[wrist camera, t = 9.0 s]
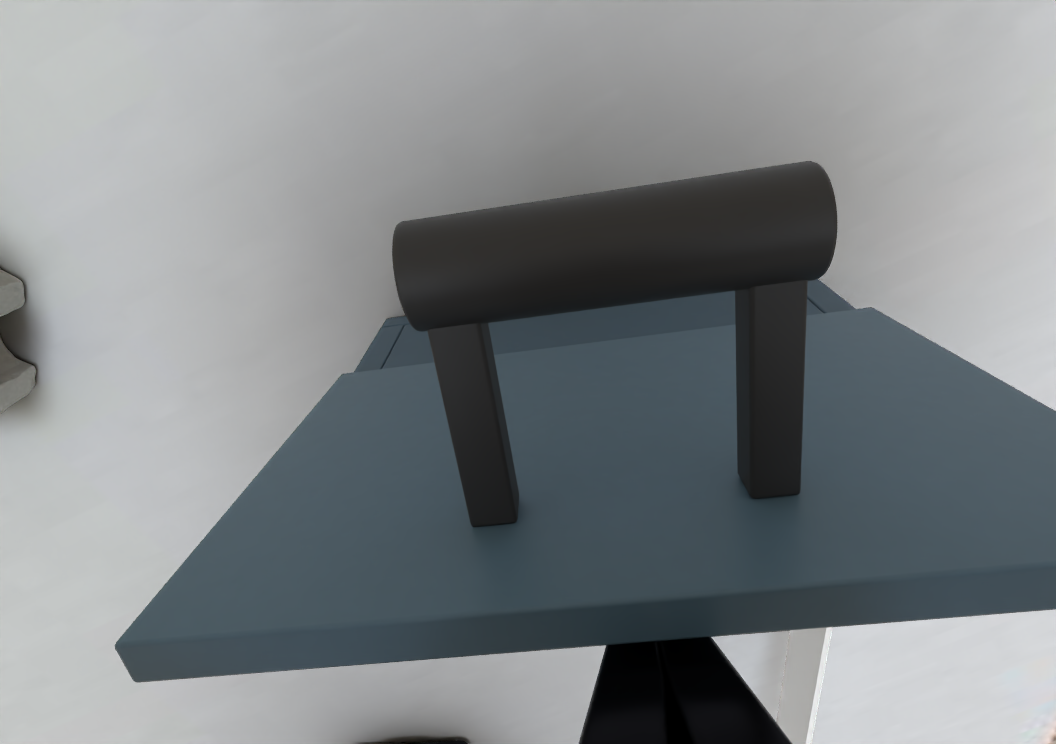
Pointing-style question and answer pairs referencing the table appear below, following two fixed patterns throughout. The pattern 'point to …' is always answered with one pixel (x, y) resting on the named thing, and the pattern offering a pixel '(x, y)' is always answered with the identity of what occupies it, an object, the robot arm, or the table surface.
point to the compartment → (583, 326)
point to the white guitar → (803, 682)
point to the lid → (622, 457)
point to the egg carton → (4, 374)
